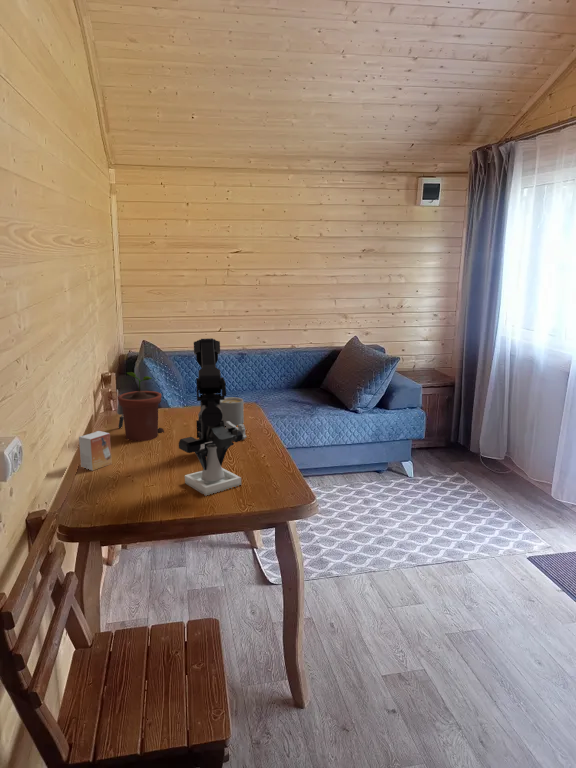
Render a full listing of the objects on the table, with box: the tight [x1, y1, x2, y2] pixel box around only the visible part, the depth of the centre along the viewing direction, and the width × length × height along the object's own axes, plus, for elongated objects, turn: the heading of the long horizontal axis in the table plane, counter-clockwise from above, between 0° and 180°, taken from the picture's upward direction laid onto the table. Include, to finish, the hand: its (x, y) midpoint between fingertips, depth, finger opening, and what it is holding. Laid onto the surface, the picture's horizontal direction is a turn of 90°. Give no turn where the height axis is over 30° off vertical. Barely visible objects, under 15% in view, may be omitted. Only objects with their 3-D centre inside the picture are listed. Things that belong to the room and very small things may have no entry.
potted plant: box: [116, 371, 165, 442], centre depth 211 cm, size 18×22×25 cm
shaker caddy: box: [184, 466, 242, 497], centre depth 165 cm, size 12×12×2 cm
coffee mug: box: [220, 396, 245, 426], centre depth 227 cm, size 13×10×10 cm
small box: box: [78, 430, 113, 471], centre depth 180 cm, size 8×6×10 cm
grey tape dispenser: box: [225, 421, 247, 440], centre depth 209 cm, size 6×1×10 cm
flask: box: [201, 444, 225, 482], centre depth 164 cm, size 7×7×10 cm
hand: (212, 467), depth 165 cm, fingers closed on flask, 5 cm apart
